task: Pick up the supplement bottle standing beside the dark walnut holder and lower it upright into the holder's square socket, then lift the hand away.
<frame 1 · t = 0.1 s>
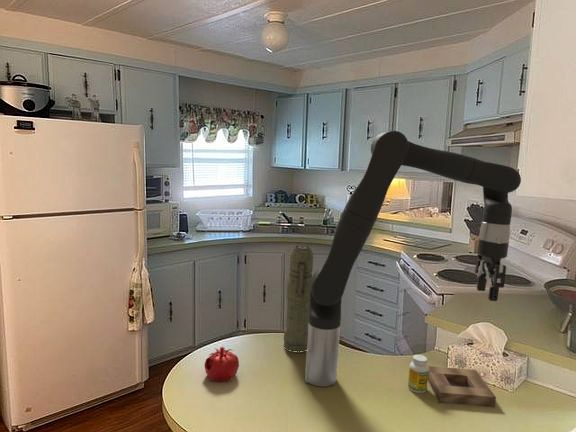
hand: (486, 295, 122), 29 cm above the counter, tool pointing down, fingers open, 8 cm apart
supplement bottle: (416, 389, 127), on the counter
pomegranate: (221, 376, 127), on the counter
thermos: (296, 347, 149), on the counter
walnut holder: (457, 390, 127), on the counter
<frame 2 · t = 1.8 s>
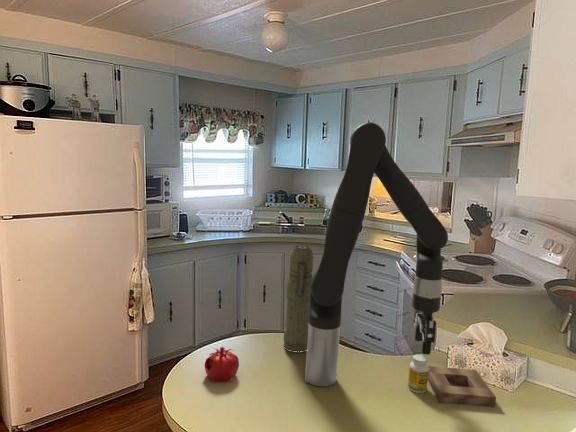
hand: (422, 347, 125), 13 cm above the counter, tool pointing down, fingers open, 8 cm apart
nothing on the counter moved.
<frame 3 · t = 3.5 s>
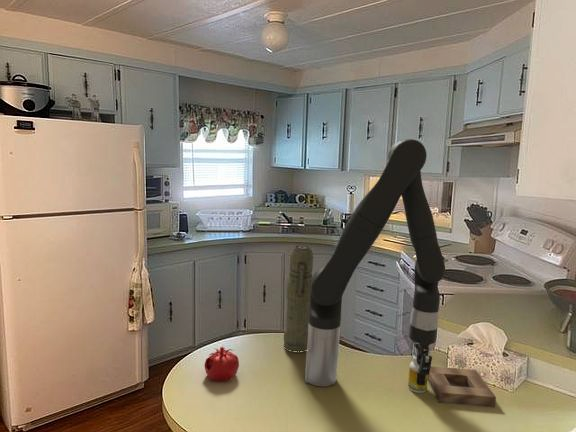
hand: (417, 379, 126), 3 cm above the counter, tool pointing down, fingers closed on supplement bottle, 5 cm apart
supplement bottle: (416, 389, 127), on the counter, touching gripper
everything else where it was.
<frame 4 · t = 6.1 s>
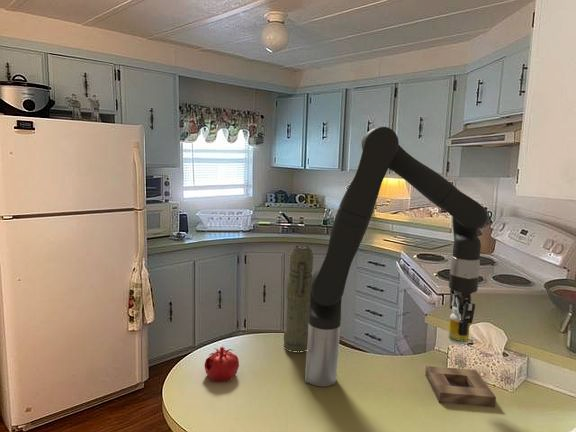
hand: (458, 330, 124), 18 cm above the counter, tool pointing down, fingers closed on supplement bottle, 5 cm apart
supplement bottle: (457, 341, 124), point 15 cm above the counter, touching gripper
everything else where it was.
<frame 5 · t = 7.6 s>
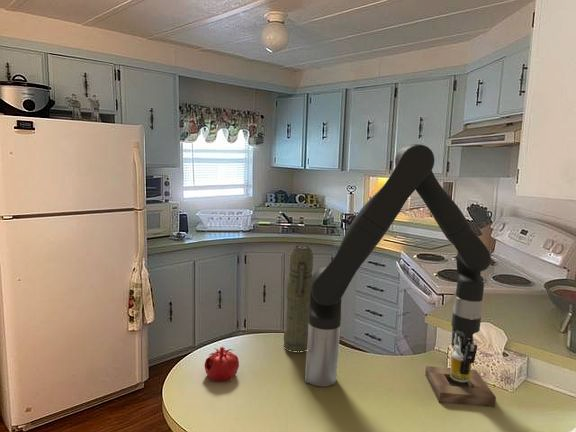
hand: (460, 368, 126), 7 cm above the counter, tool pointing down, fingers closed on supplement bottle, 5 cm apart
supplement bottle: (459, 378, 126), point 4 cm above the counter, touching gripper
everything else where it was.
when the fingers open (5 cm above the counter, at t = 8.9 s): supplement bottle drops 1 cm, resting on walnut holder.
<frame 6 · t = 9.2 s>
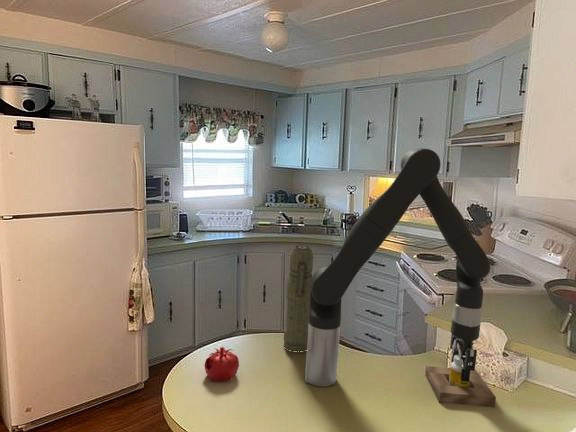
hand: (459, 373, 126), 5 cm above the counter, tool pointing down, fingers open, 8 cm apart
supplement bottle: (457, 389, 127), resting on walnut holder
everything else where it was.
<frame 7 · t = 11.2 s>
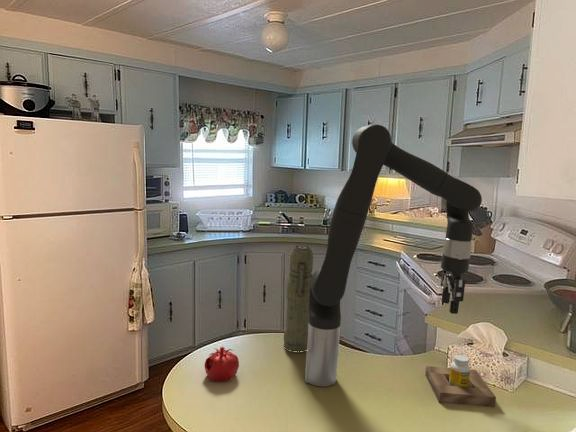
hand: (449, 307, 128), 23 cm above the counter, tool pointing down, fingers open, 8 cm apart
nothing on the counter moved.
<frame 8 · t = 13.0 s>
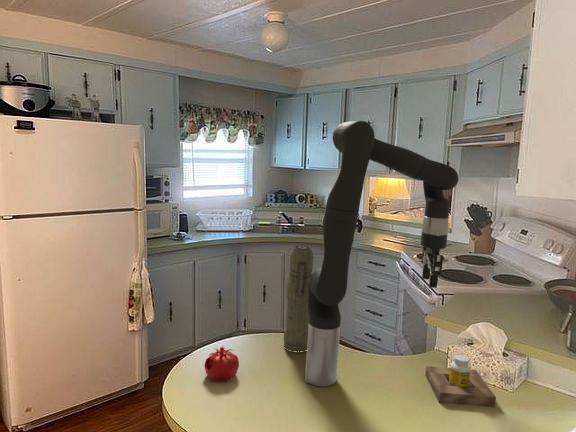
hand: (429, 282, 135), 28 cm above the counter, tool pointing down, fingers open, 8 cm apart
nothing on the counter moved.
at the end: supplement bottle 0.1 cm off-centre on the walnut holder, point 0.3 cm above the walnut holder's base; supplement bottle tilted 0°; the gripper is holding nothing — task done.
